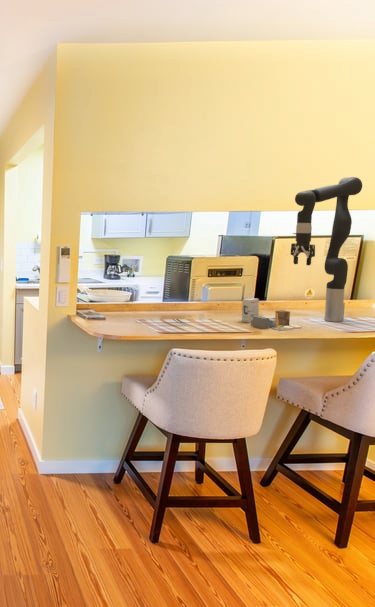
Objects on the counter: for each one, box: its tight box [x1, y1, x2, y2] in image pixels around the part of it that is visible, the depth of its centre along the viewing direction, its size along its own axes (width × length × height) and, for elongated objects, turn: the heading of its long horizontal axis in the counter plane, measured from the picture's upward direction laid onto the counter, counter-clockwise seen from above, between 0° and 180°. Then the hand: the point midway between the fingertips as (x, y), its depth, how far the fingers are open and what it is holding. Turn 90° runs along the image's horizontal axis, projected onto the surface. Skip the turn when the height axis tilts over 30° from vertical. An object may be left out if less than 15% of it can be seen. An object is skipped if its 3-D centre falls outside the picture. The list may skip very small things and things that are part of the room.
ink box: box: [241, 297, 260, 324], centre depth 298 cm, size 9×5×12 cm, turn 141°
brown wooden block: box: [274, 309, 291, 326], centre depth 291 cm, size 5×5×7 cm
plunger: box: [268, 312, 284, 328], centre depth 283 cm, size 4×14×7 cm, turn 36°
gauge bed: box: [250, 315, 303, 332], centre depth 285 cm, size 18×18×5 cm
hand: (302, 264), depth 291 cm, fingers open, 8 cm apart
